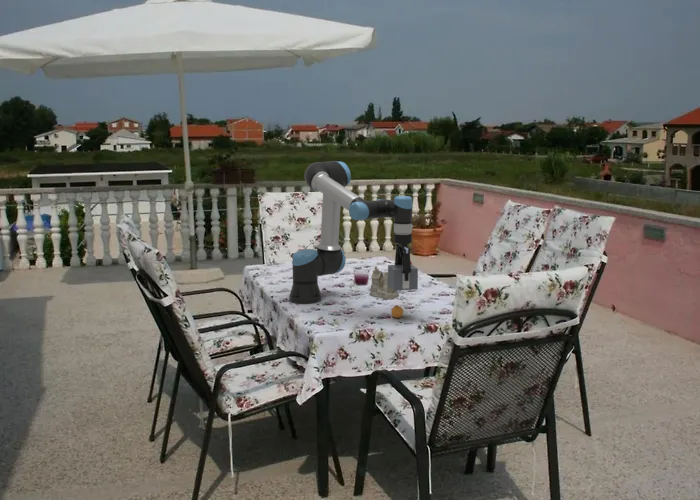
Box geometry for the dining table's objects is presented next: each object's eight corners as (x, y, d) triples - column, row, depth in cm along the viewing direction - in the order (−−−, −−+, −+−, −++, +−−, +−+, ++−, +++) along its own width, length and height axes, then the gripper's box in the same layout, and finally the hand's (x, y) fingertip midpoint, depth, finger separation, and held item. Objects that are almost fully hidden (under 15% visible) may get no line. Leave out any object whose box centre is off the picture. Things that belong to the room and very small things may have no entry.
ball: (406, 311, 280) (399, 321, 280) (404, 309, 285) (397, 318, 285) (397, 305, 279) (390, 314, 279) (395, 302, 284) (388, 311, 284)
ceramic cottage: (389, 299, 313) (390, 268, 312) (362, 295, 324) (363, 265, 322) (409, 296, 325) (409, 265, 323) (382, 292, 335) (383, 262, 334)
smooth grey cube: (393, 290, 275) (393, 269, 274) (387, 285, 285) (388, 265, 284) (417, 289, 277) (417, 268, 275) (411, 284, 287) (411, 264, 285)
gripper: (419, 237, 267) (418, 291, 270) (404, 229, 289) (404, 279, 293) (401, 237, 265) (400, 291, 269) (387, 230, 288) (387, 280, 291)
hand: (402, 285), depth 281 cm, fingers closed on smooth grey cube, 10 cm apart
